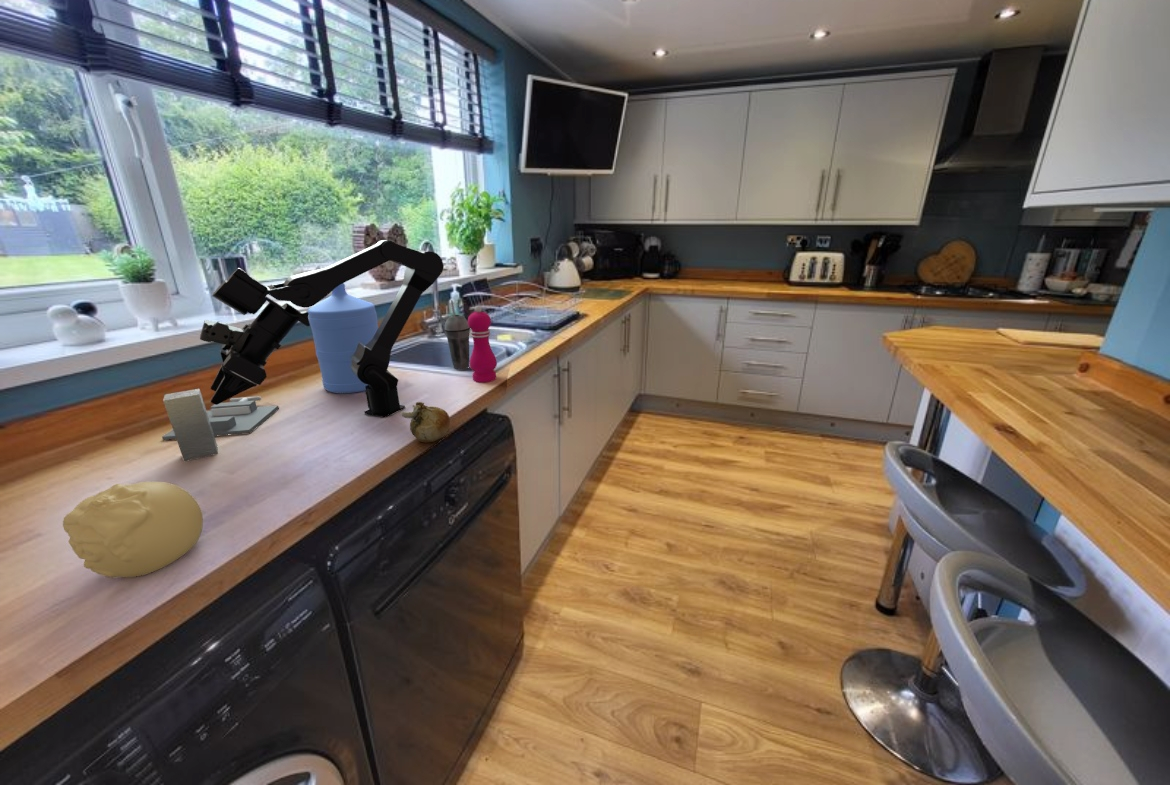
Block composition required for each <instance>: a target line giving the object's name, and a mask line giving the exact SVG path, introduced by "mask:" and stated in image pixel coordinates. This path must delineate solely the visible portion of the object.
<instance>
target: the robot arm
mask: <svg viewBox="0 0 1170 785" xmlns="http://www.w3.org/2000/svg"><path fill="white" fill-rule="evenodd" d="M390 261H391V262H393V263H396V264H398V265H402V266H404V267H405V269H404V275H403V281H402V285H401V286H400V288H399V290H398V291H397V294H396V296H395V298H394V299H393V300H392V303H391V305H390V306H389V307H388V310H387V312H386V314H385V316H384V317H383V319H382V320H381V323H380V325H378V330H377V332H376V333H375V335H374V337H373V338H372V340H371V341H370V342H368V343H367V344H366V345H363V344H362V343H360V342H359V344H358V346H357V349H356V351H355V353H354V354H353V355H352V356H351V357H350V358H351V359H352V362H351V369H352V371H353V373H354V374H355V375H356V376H357V377H358V379H359V380H360V381H361V382H363V383H364V384H368V385H367V386H365V388H366V391H365V397H366V402H367V407H368V409H367V410H365V411H363V413H364V415H369V416H373V417H380V418H388V417H391V416H392V415H394V414H396V413H398V412H400V411H402V410H404V409H406V405H404V404H401V403H400V400H399V399H400V398H399V392H398V382H399V378H397V377H396V376H395V375H394V374H392V373H391V372H390V371H389V370H388V369H389V366H390V365H389V364H390V359H391V354H392V350H393V347H394V345H395V343H396V342H397V339H398V338H399V336H400V335H401V332H402V331H403V330H404V328H405V326H406V323H407V321H408V319H409V318H410V316H411V314H412V312H413V310H414V309H415V307H416V305H417V303H418V302H419V300H420V298H421V296H422V294H424V292H426V290H428V289H429V288H430V287H431V286H432V285H433V284H434V283H435V282H436V280H438V279H439V277H440V276H441V275H442V273H443V271H444V266H445V265H444V262H443V259H442V258H441V256H440V255H439V254H438V253H436V252H434V251H431V250H422V249H419V250H416V249H413V248H410V247H407V246H404V245H401V244H398V243H395V241H392V240H388V239H381V240H379V241H377V243H375V244H373V245H371V246H369V247H367V248H364V249H363V250H360V251H358V252H356V253H353V254H352V255H350V256H347V257H346V258H343V259H341V260H339V261H337V262H335V263H332V264H330V265H328V266H327V267H322V268H320V269H319V268H318V269H313V270H309V271H306V272H302V273H298V274H295V275H290V276H288V278H286V279H285V280H284V282H282V283H281V282H280V283H277V284H270V285H264V284H262V282H260V281H258V280H257V279H255V278H253V277H252V276H251V275H250V274H248V273H247V272H246V271H245V270H243V269H242V268H240V267H237V268H236V269H235V271H234V272H233V273H231V274H230V276H228V277H227V279H224V280H223V281H222V282H221V283H220V285H219V286H218V287H217V288H216V290H214V292H213V293H212V295H211V297H213V298H214V299H216V300H218V301H220V302H221V303H223V304H225V305H226V306H228V307H230V308H231V309H232V310H234V311H236V312H238V313H239V314H241V315H242V316H246V315H247V314H249V315H251V314H252V315H256V313H258V312H259V311H260V309H261V308H262V307H263V306H264V305H265V303H266V302H268V303H267V304H266V306H265V307H264V309H262V310H261V312H260V313H259V314H258V315H257V316H256V318H254V320H253V321H252V322H251V323H248V324H247V323H246V324H245V325H244V326H243V327H242V328H240V327H236V326H233V325H229V324H228V323H222V322H220V321H217V322H216V321H212V320H208V319H204V322H203V325H202V328H201V332H200V335H199V340H201V341H204V342H208V343H212V342H213V343H217V344H219V345H220V344H221V349H219V351H220V357H221V360H222V364H221V365H220V368H219V370H218V371H217V374H216V375H215V378H214V380H213V382H212V384H211V385H210V390H212V391H214V394H213V396H212V398H211V400H210V403H211V404H212V405H214V404H215V405H218V404H220V403H224V402H225V401H227V400H230V399H231V398H234V397H235V396H237V395H239V394H241V393H244V392H245V391H247V390H249V389H252V388H253V387H254V388H255V387H257V386H258V385H259V386H261V385H262V383H263V382H264V380H266V378H267V373H266V369H265V365H267V364H268V361H267V360H268V358H269V357H270V356H271V355H272V354H273V352H274V351H275V350H279V349H280V348H281V346H282V345H281V343H282V342H283V340H284V339H285V338H286V337H287V335H289V333H291V330H292V329H293V328H294V327H295V326H296V324H297V323H298V322H299V323H300V324H302V325H304V326H306V327H311V326H310V323H309V315H308V314H309V313H308V310H307V311H306V310H303V311H300V310H298V309H296V307H298V308H299V307H300V308H311V307H313V306H314V305H316V304H318V303H320V302H321V301H323V300H324V298H325V299H326V297H328V296H329V294H331V293H332V291H333V290H334V289H335V288H336V287H337V286H339V285H340V284H342V283H344V284H345V283H347V282H348V281H350V280H352V279H354V278H357V277H359V276H360V275H363V274H365V273H366V272H369V271H371V270H373V269H375V268H377V267H379V266H381V265H383V264H385V263H387V262H390ZM268 296H270V297H272V298H274V299H275V300H277V301H280V302H286V303H284V304H282V305H281V304H279V303H278V302H276V301H274V300H273V299H271V298H270V297H268ZM287 302H290V303H291V304H293V305H295V306H296V307H293V306H292V305H290V304H289V303H287Z"/></svg>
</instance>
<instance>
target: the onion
mask: <svg viewBox="0 0 1170 785" xmlns="http://www.w3.org/2000/svg"><path fill="white" fill-rule="evenodd" d="M412 408H413V410H412V411H401V412H400V415H401V416H400V417H402V418H405V419H411V420H410V422H409V430H410V432H411V434H412V436H413V437H414V438H415V439H416V440H417V441H419V442H422V443H433V442H436V441H438V440H440V439H441V438H443V437H444V436H445V435H446V434H447V432H449V431H448V430H449V429H450V424H451V418H450V415H449V414H448V412H447V411H446V410H445V409H443V408H441V407H437V406H432V405H431V406H427V405H425V402H422V401H418V402H415V405H414V404H413V405H412Z"/></svg>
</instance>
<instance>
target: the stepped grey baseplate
mask: <svg viewBox="0 0 1170 785" xmlns="http://www.w3.org/2000/svg"><path fill="white" fill-rule="evenodd" d="M258 401H259V402H260V401H262V396H258V395H257V396H246V397H243V396H242V397H231V398H229V402H221V403H220V404H218V405H215V404H212V405H210V410H206V411H207V414H208V417H209V421H210V424H211V427H212V430H213V433H214V436H215V437H218V436H217V435H224V436H229V435H228V434H236V435H243V434H242V433H249V434H251V433H252V432H253V431H255V430H256V429H257V428H258V427H260V426H261V425H262V424H263V423H264V422H265V421H266V420H267V419H269V418H270V417H271V416H272V415H274V414H275V413H276V412H277V411H278V410H279V405H268V406H267V405H266V406H265V405H264V406H257V403H256V402H258ZM276 410H277V411H276ZM275 411H276V412H275ZM271 414H272V415H271ZM270 415H271V416H270ZM269 416H270V417H269ZM268 417H269V418H268ZM263 421H264V422H263ZM262 422H263V423H262ZM261 423H262V424H261ZM256 427H257V428H256ZM255 428H256V429H255ZM254 429H255V430H254ZM251 431H252V432H251ZM250 432H251V433H250ZM161 438H162V440H163V441H170V440H169V439H174V440H177V439H176V436H175V434H174V431H173V429H172V430H170V431H169V432H166V433H165V434H163V435H162V436H161Z"/></svg>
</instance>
